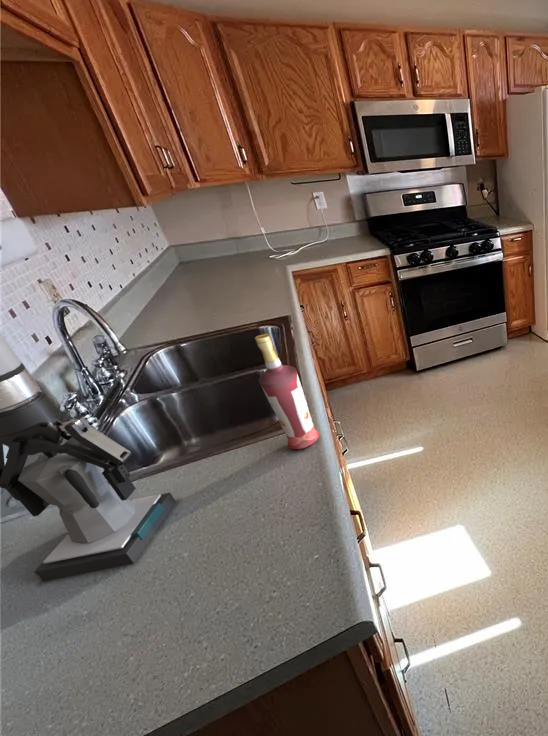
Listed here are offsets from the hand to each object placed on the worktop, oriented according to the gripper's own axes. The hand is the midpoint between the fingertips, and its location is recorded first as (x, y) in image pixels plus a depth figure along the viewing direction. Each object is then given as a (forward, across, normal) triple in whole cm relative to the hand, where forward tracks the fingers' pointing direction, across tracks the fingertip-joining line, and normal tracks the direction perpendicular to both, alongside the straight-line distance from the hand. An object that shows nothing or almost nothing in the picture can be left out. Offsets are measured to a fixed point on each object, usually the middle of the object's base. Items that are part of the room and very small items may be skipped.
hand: (86, 502), depth 72 cm
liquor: (+9, -30, -19) cm, 36 cm away
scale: (+9, 0, 0) cm, 9 cm away
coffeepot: (+6, -1, 0) cm, 6 cm away
